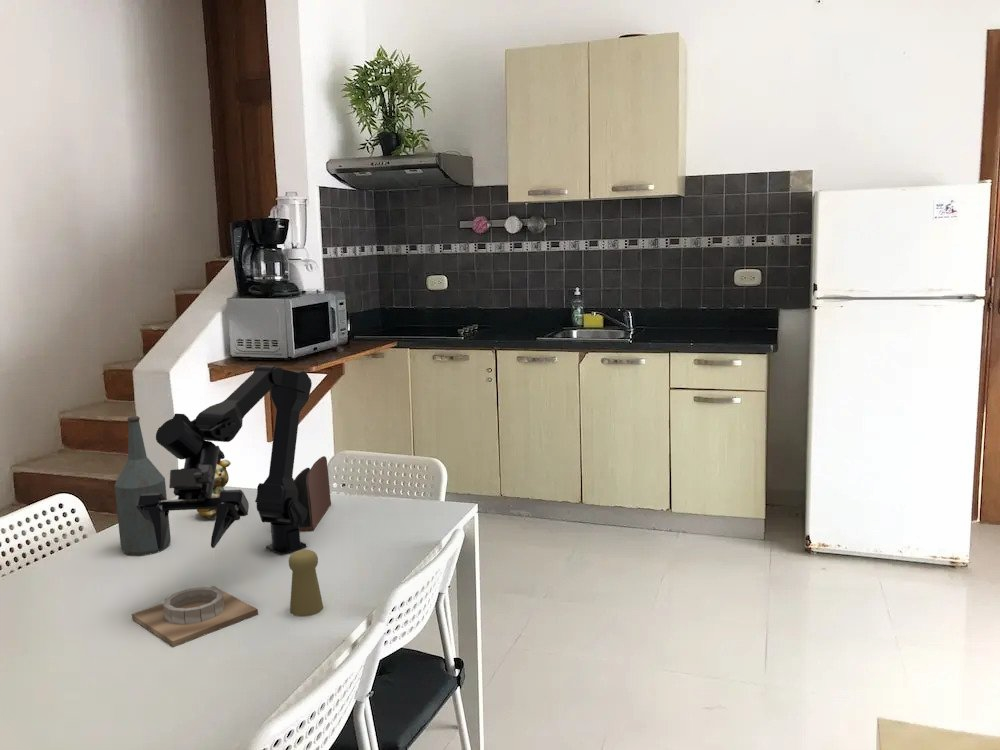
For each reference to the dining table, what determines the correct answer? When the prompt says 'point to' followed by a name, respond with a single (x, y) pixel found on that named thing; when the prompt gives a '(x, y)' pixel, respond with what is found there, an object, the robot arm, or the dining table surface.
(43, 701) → the dining table surface
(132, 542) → the bottle
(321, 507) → the letter holder
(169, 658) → the dining table surface
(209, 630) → the socket holder
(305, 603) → the cork
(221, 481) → the decorative figurine
